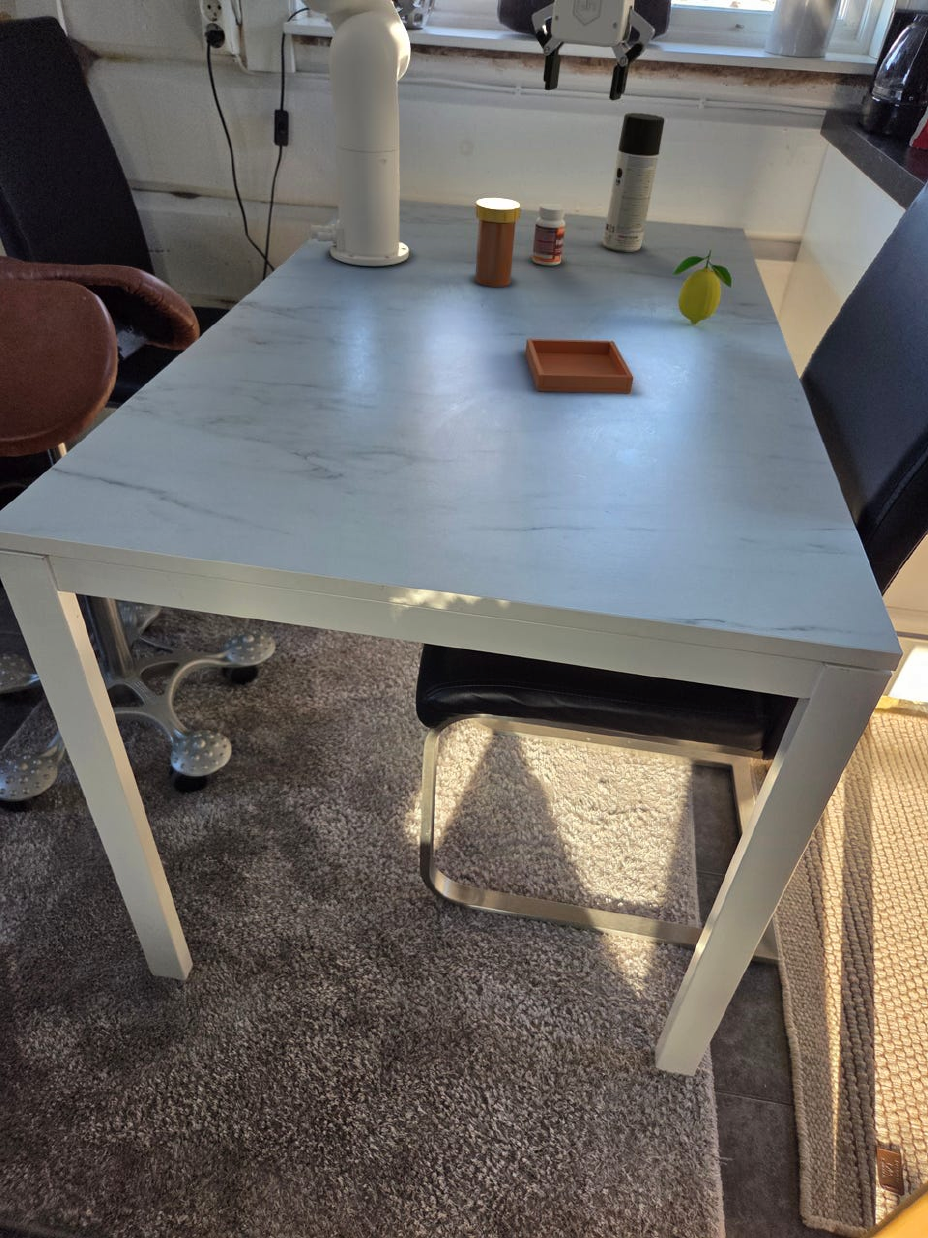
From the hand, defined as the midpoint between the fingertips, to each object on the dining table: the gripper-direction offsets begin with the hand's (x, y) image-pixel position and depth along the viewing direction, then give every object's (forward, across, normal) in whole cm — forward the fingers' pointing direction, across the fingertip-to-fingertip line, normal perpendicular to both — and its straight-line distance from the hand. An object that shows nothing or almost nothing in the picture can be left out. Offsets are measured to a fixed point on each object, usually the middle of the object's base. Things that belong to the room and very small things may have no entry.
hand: (582, 93), depth 116 cm
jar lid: (+14, -7, -10) cm, 18 cm away
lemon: (+24, +25, -10) cm, 36 cm away
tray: (+24, +17, -35) cm, 46 cm away
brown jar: (+25, -7, -10) cm, 27 cm away
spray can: (+24, +4, +21) cm, 32 cm away
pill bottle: (+25, -4, +5) cm, 25 cm away
